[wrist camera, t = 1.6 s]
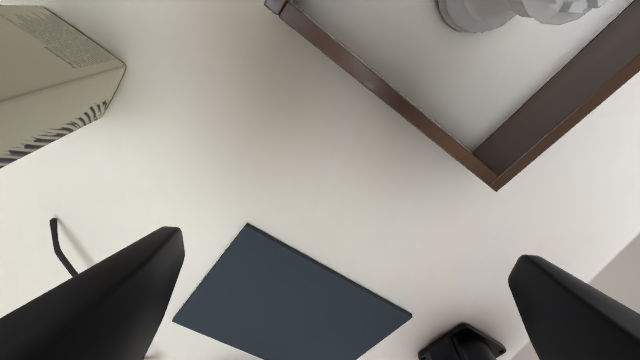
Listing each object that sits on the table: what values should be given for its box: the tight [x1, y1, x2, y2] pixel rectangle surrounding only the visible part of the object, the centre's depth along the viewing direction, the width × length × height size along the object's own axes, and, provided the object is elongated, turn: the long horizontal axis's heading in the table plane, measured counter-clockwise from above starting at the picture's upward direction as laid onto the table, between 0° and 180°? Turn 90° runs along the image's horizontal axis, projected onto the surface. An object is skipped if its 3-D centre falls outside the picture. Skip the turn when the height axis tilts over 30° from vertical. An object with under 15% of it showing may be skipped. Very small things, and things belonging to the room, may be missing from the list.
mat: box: [172, 223, 412, 360], centre depth 29 cm, size 18×14×1 cm
